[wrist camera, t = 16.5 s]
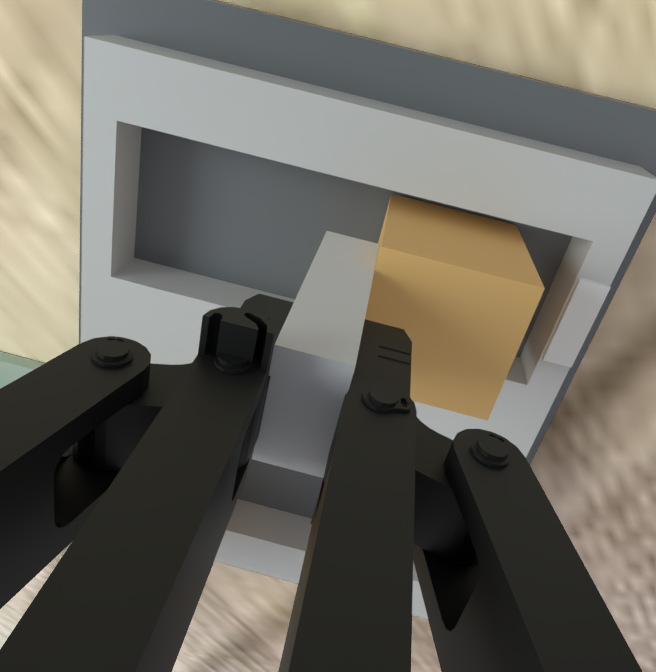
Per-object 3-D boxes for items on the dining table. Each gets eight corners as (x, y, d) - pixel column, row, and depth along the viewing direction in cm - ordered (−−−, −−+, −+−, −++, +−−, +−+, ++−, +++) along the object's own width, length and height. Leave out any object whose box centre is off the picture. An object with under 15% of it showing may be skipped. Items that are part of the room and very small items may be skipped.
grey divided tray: (102, -28, 18) (43, -37, 15) (683, 116, 18) (732, 134, 15) (89, 494, 29) (53, 546, 26) (453, 593, 28) (456, 655, 26)
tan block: (391, 193, 19) (380, 246, 14) (516, 225, 19) (544, 288, 14) (360, 305, 21) (343, 382, 16) (474, 335, 20) (487, 420, 16)
